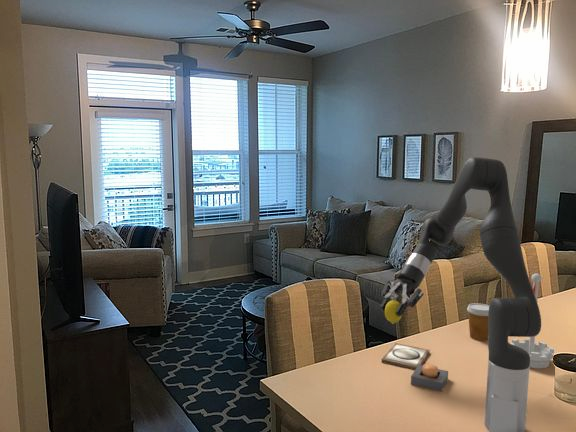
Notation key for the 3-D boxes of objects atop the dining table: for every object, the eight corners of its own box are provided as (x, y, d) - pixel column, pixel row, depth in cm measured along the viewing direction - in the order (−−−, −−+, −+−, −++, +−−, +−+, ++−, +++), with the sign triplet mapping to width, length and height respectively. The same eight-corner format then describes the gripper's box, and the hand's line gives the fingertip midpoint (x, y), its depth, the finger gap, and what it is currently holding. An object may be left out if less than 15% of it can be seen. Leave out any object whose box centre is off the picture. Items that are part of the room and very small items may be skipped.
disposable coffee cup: (498, 340, 175) (500, 309, 174) (478, 343, 172) (480, 311, 171) (479, 331, 184) (480, 301, 183) (459, 334, 181) (461, 304, 179)
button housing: (441, 391, 136) (442, 383, 136) (410, 384, 140) (411, 376, 140) (447, 378, 144) (448, 371, 144) (418, 372, 148) (418, 364, 148)
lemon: (382, 325, 150) (382, 300, 149) (386, 319, 155) (387, 296, 154) (399, 328, 147) (400, 303, 146) (403, 322, 152) (404, 298, 151)
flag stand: (514, 350, 166) (520, 267, 163) (556, 360, 158) (563, 273, 155) (504, 362, 156) (509, 274, 153) (548, 373, 148) (555, 280, 145)
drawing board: (417, 370, 150) (418, 366, 150) (381, 362, 156) (381, 358, 155) (429, 352, 164) (429, 349, 163) (395, 345, 169) (395, 342, 169)
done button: (435, 379, 139) (436, 371, 139) (420, 376, 141) (421, 368, 141) (438, 373, 143) (439, 366, 142) (424, 370, 145) (424, 363, 145)
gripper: (392, 259, 159) (367, 300, 153) (428, 267, 147) (403, 312, 142) (401, 272, 163) (377, 312, 157) (437, 281, 151) (413, 325, 146)
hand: (390, 312), depth 149 cm, fingers closed on lemon, 5 cm apart
